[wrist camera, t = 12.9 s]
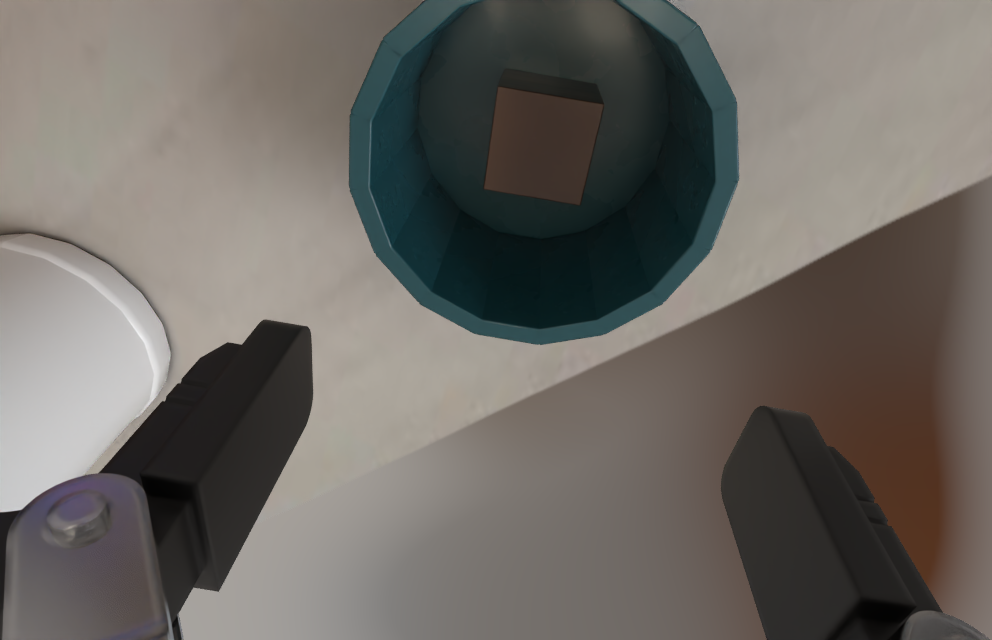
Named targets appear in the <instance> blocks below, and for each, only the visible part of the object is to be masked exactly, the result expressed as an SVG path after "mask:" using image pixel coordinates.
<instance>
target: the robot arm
mask: <svg viewBox="0 0 992 640" xmlns="http://www.w3.org/2000/svg"><path fill="white" fill-rule="evenodd" d="M312 400H313V376H312V344H311V332H310V329H309V328H308V327H307V326H301V325H295V324H289V323H283V322H277V321H271V320H263V321H261V322H260V323H259V324H258V326H257V327H256V328H255V329H254V331H253V332H252V333H251V334H250V335H249V337H248V338H247V339H246V340H245V342H244V343H243V344H242V345H240V344H234V343H226V344H224V345H222V346H221V347H219V348H217V349H215V350H214V351H212V352H210V353H208V354H207V355H205V356H203V357H201V358H200V359H199V360H198V361H197V362H196V363H195V365H194V366H193V367H192V368H191V369H190V370H189V371H188V372H187V374H186V375H185V376H184V377H183V378H182V381H181V384H179V383H178V384H177V385H176V386H175V387H174V388H173V390H172V391H171V392H170V393H169V394H168V395H167V396H166V401H165V402H164V401H162V402H161V403H160V404H159V405H158V407H157V408H156V409H155V410H154V411H153V412H152V413H151V415H150V416H149V417H148V418H147V419H146V420H145V421H144V423H143V424H142V425H141V426H140V427H139V428H138V429H137V430H136V432H135V433H134V434H133V435H132V436H131V437H130V438H129V440H128V441H127V442H126V443H125V444H124V445H123V446H122V448H121V449H120V450H119V451H118V452H117V453H116V454H115V456H114V457H113V458H112V459H111V460H110V461H109V462H108V463H107V465H106V466H105V467H104V468H103V469H102V470H101V471H100V472H99V473H98V474H89V475H85V476H80V477H76V478H73V479H70V480H67V481H65V482H62V483H60V484H58V485H55V486H53V487H52V488H50V489H48V490H46V491H44V492H43V493H41V494H40V495H38V496H37V497H36V498H34V499H33V500H32V501H31V502H29V503H28V504H27V505H26V506H25V507H24V508H23V509H22V510H17V511H9V512H0V640H184V639H183V634H182V629H181V623H180V618H179V614H178V613H179V611H180V610H181V608H182V606H183V605H184V603H185V601H186V599H187V598H188V595H189V594H190V592H191V590H192V589H193V587H194V588H200V589H207V590H213V591H219V590H220V588H221V586H222V584H223V582H224V581H225V579H226V577H227V575H228V573H229V571H230V569H231V567H232V565H233V564H234V562H235V560H236V558H237V556H238V554H239V552H240V550H241V548H242V546H243V545H244V542H245V541H246V539H247V537H248V535H249V533H250V531H251V529H252V527H253V525H254V524H255V522H256V520H257V518H258V516H259V514H260V512H261V510H262V508H263V506H264V505H265V503H266V501H267V499H268V497H269V495H270V493H271V491H272V489H273V487H274V486H275V484H276V482H277V480H278V478H279V476H280V474H281V472H282V470H283V468H284V467H285V465H286V463H287V461H288V459H289V457H290V455H291V453H292V451H293V449H294V447H295V446H296V444H297V442H298V440H299V438H300V436H301V434H302V432H303V430H304V428H305V426H306V424H307V421H308V418H309V415H310V411H311V407H312ZM721 492H722V499H723V502H724V505H725V509H726V511H727V515H728V518H729V521H730V524H731V528H732V530H733V534H734V537H735V540H736V543H737V546H738V549H739V553H740V556H741V559H742V562H743V565H744V569H745V572H746V575H747V578H748V581H749V584H750V588H751V591H752V594H753V597H754V600H755V604H756V607H757V610H758V613H759V616H760V619H761V622H762V626H763V629H764V632H765V635H766V638H767V640H990V639H989V638H988V637H986V636H985V635H984V634H982V633H981V632H980V631H978V630H977V629H975V628H974V627H972V626H971V625H969V624H967V623H965V622H964V621H962V620H960V619H957V618H955V617H953V616H950V615H947V614H945V613H943V612H942V610H941V609H940V607H939V605H938V604H937V602H936V600H935V599H934V597H933V595H932V594H931V592H930V590H929V589H928V587H927V585H926V584H925V582H924V580H923V579H922V577H921V575H920V573H919V572H918V570H917V569H916V567H915V565H914V563H913V562H912V560H911V558H910V557H909V555H908V554H907V552H906V550H905V549H904V547H903V545H902V544H901V542H900V540H899V538H898V537H897V535H896V533H895V532H894V530H893V528H892V527H891V526H888V525H887V521H888V520H887V518H886V517H885V515H884V513H883V512H882V510H881V508H880V507H879V505H878V504H877V503H874V496H873V495H872V493H871V491H870V490H869V488H868V486H867V485H866V483H865V482H864V480H863V478H862V476H861V475H860V473H859V472H858V471H857V470H856V469H855V468H854V467H853V466H852V465H851V464H850V463H849V462H848V461H847V460H846V459H845V458H844V457H843V456H842V455H841V454H840V453H839V452H838V451H837V450H836V449H835V448H834V447H830V446H827V445H826V444H825V442H824V440H823V438H822V436H821V435H820V433H819V431H818V429H817V427H816V426H815V424H814V422H813V420H812V419H811V417H810V416H809V415H807V414H806V413H802V412H796V411H790V410H784V409H778V408H773V407H767V406H760V407H758V408H756V409H755V410H754V412H753V413H752V415H751V417H750V419H749V420H748V422H747V424H746V426H745V428H744V430H743V432H742V434H741V436H740V438H739V439H738V441H737V443H736V445H735V447H734V449H733V451H732V453H731V455H730V457H729V459H728V460H727V462H726V464H725V467H724V470H723V474H722V481H721Z"/></svg>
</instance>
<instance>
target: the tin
mask: <svg viewBox="0 0 992 640" xmlns="http://www.w3.org/2000/svg"><path fill="white" fill-rule="evenodd" d="M504 69H512V70H518V71H524V72H530V73H535V74H541V75H547V76H553V77H559V78H565V79H570V80H576V81H582V82H588V83H594V84H597V86H598V89H599V91H600V94H601V97H602V99H603V102H604V109H603V114H602V118H601V122H600V126H599V130H598V135H597V139H596V143H595V147H594V151H593V156H592V160H591V164H590V168H589V172H588V177H587V181H586V185H585V189H584V193H583V197H582V202H581V205H573V204H567V203H561V202H555V201H549V200H543V199H537V198H531V197H525V196H519V195H514V194H508V193H502V192H496V191H490V190H484V189H483V186H484V179H485V172H486V164H487V157H488V150H489V143H490V135H491V128H492V121H493V114H494V107H495V99H496V92H497V86H498V84H499V81H500V79H501V77H502V74H503V72H504ZM738 181H739V155H738V120H737V102H736V98H735V96H734V94H733V92H732V90H731V88H730V86H729V84H728V82H727V80H726V78H725V76H724V74H723V72H722V70H721V68H720V66H719V64H718V62H717V60H716V58H715V56H714V54H713V52H712V50H711V48H710V46H709V44H708V42H707V40H706V38H705V36H704V34H703V32H702V30H701V28H700V26H699V25H697V23H696V22H695V21H694V20H692V19H691V18H690V17H688V16H687V15H686V14H684V13H683V12H682V11H680V10H679V9H678V8H676V7H675V6H674V5H672V4H671V3H670V2H668V1H667V0H425V1H424V2H422V3H421V4H420V5H419V6H418V7H417V8H416V9H415V10H413V11H412V12H411V13H410V14H409V15H408V16H407V17H406V18H405V19H403V20H402V21H401V22H400V23H399V24H398V25H397V26H396V27H394V28H393V29H392V30H391V31H390V32H389V33H388V34H387V35H386V36H384V37H383V40H382V41H381V43H380V45H379V48H378V50H377V52H376V54H375V57H374V59H373V61H372V63H371V66H370V68H369V70H368V73H367V75H366V77H365V79H364V82H363V84H362V86H361V88H360V91H359V93H358V95H357V98H356V100H355V102H354V104H353V107H352V109H351V114H350V133H349V188H350V192H351V195H352V197H353V200H354V202H355V205H356V207H357V210H358V213H359V215H360V218H361V220H362V223H363V225H364V228H365V230H366V233H367V236H368V238H369V241H370V243H371V246H372V248H373V251H374V253H376V256H377V257H378V258H379V259H380V260H381V261H382V263H383V264H384V265H385V266H386V267H387V268H388V269H389V270H390V271H391V273H392V274H393V275H394V276H395V277H396V278H397V279H398V280H399V281H400V283H401V284H402V285H403V286H404V287H405V288H406V289H407V290H408V291H409V293H410V294H411V295H412V296H413V297H414V298H415V299H416V300H417V301H418V302H419V304H420V305H422V306H424V307H426V308H428V309H430V310H432V311H433V312H435V313H437V314H439V315H441V316H443V317H444V318H446V319H448V320H450V321H452V322H454V323H456V324H457V325H459V326H461V327H463V328H465V329H467V330H469V331H470V332H472V333H474V334H476V333H477V334H478V335H484V336H490V337H496V338H502V339H508V340H513V341H519V342H525V343H531V344H537V345H538V344H540V345H543V344H549V343H556V342H562V341H568V340H575V339H581V338H587V337H594V336H600V335H603V334H607V333H608V332H610V331H612V330H614V329H616V328H618V327H620V326H622V325H624V324H626V323H627V322H629V321H631V320H633V319H635V318H637V317H639V316H641V315H643V314H645V313H646V312H648V311H650V310H652V309H654V308H656V307H658V306H660V305H662V304H663V302H665V301H666V300H667V299H668V298H669V296H670V295H671V294H672V293H673V292H674V291H675V290H676V289H677V288H678V287H679V286H680V284H681V283H682V282H683V281H684V280H685V279H686V278H687V277H688V276H689V275H690V274H691V273H692V271H693V270H694V269H695V268H696V267H697V266H698V265H699V264H700V263H701V262H702V261H703V259H704V258H705V257H706V256H707V255H708V254H709V253H710V250H712V248H713V245H714V243H715V240H716V238H717V235H718V233H719V230H720V228H721V225H722V223H723V220H724V217H725V215H726V212H727V210H728V207H729V205H730V202H731V200H732V197H733V194H734V192H735V189H736V187H737V184H738Z"/></svg>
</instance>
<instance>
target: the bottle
mask: <svg viewBox="0 0 992 640" xmlns="http://www.w3.org/2000/svg"><path fill="white" fill-rule="evenodd" d="M170 357H171V352H170V348H169V345H168V341H167V338H166V334H165V330H164V327H163V324H162V322H161V321H160V319H159V318H158V317H157V315H156V314H155V312H154V311H153V309H152V308H151V306H150V305H149V303H148V302H147V300H146V299H145V297H144V296H143V294H142V293H141V292H140V291H139V290H137V289H136V288H135V287H134V286H133V285H132V284H131V283H130V282H128V281H127V280H126V279H125V278H124V277H123V276H122V275H121V274H119V273H118V272H117V271H116V270H115V269H114V268H113V267H112V266H111V265H109V264H107V263H105V262H103V261H102V260H100V259H98V258H96V257H94V256H92V255H90V254H89V253H87V252H85V251H83V250H81V249H79V248H78V247H76V246H74V245H72V244H69V243H65V242H62V241H58V240H54V239H50V238H46V237H42V236H39V235H35V234H31V233H29V234H12V235H0V512H9V511H17V510H22V509H23V508H24V507H25V506H26V505H27V504H28V503H29V502H31V501H32V500H33V499H34V498H36V497H37V496H38V495H40V494H41V493H43V492H44V491H46V490H48V489H50V488H52V487H53V486H55V485H58V484H60V483H62V482H65V481H67V480H70V479H73V478H76V477H80V476H83V475H84V474H85V473H86V472H87V471H88V470H89V469H90V467H91V466H92V465H93V464H94V463H95V462H96V461H97V460H98V458H99V457H100V456H101V455H102V454H103V453H104V452H105V451H106V449H107V448H108V447H109V446H110V445H111V444H112V443H113V442H114V440H115V439H116V438H117V437H118V436H119V435H120V434H121V433H122V431H123V430H124V429H125V428H126V427H127V426H128V425H129V424H130V422H131V421H132V420H133V419H135V418H137V417H139V416H140V415H141V414H142V413H143V412H144V411H145V409H146V408H147V407H148V406H149V405H150V404H151V402H152V401H153V400H154V399H155V398H156V397H157V395H158V394H159V392H160V390H161V389H162V387H163V385H164V384H165V382H166V380H167V374H168V368H169V363H170Z"/></svg>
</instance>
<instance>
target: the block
mask: <svg viewBox="0 0 992 640" xmlns="http://www.w3.org/2000/svg"><path fill="white" fill-rule="evenodd" d="M603 109H604V102H603V99H602V97H601V94H600V91H599V89H598V86H597V84H594V83H588V82H582V81H576V80H570V79H565V78H559V77H553V76H547V75H541V74H535V73H530V72H524V71H518V70H512V69H504V72H503V74H502V77H501V79H500V81H499V84H498V86H497V92H496V99H495V107H494V114H493V121H492V128H491V135H490V143H489V150H488V157H487V164H486V172H485V179H484V186H483V189H484V190H490V191H496V192H502V193H508V194H514V195H519V196H525V197H531V198H537V199H543V200H549V201H555V202H561V203H567V204H573V205H581V202H582V197H583V193H584V189H585V185H586V181H587V177H588V172H589V168H590V164H591V160H592V156H593V151H594V147H595V143H596V139H597V135H598V130H599V126H600V122H601V118H602V114H603Z"/></svg>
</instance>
